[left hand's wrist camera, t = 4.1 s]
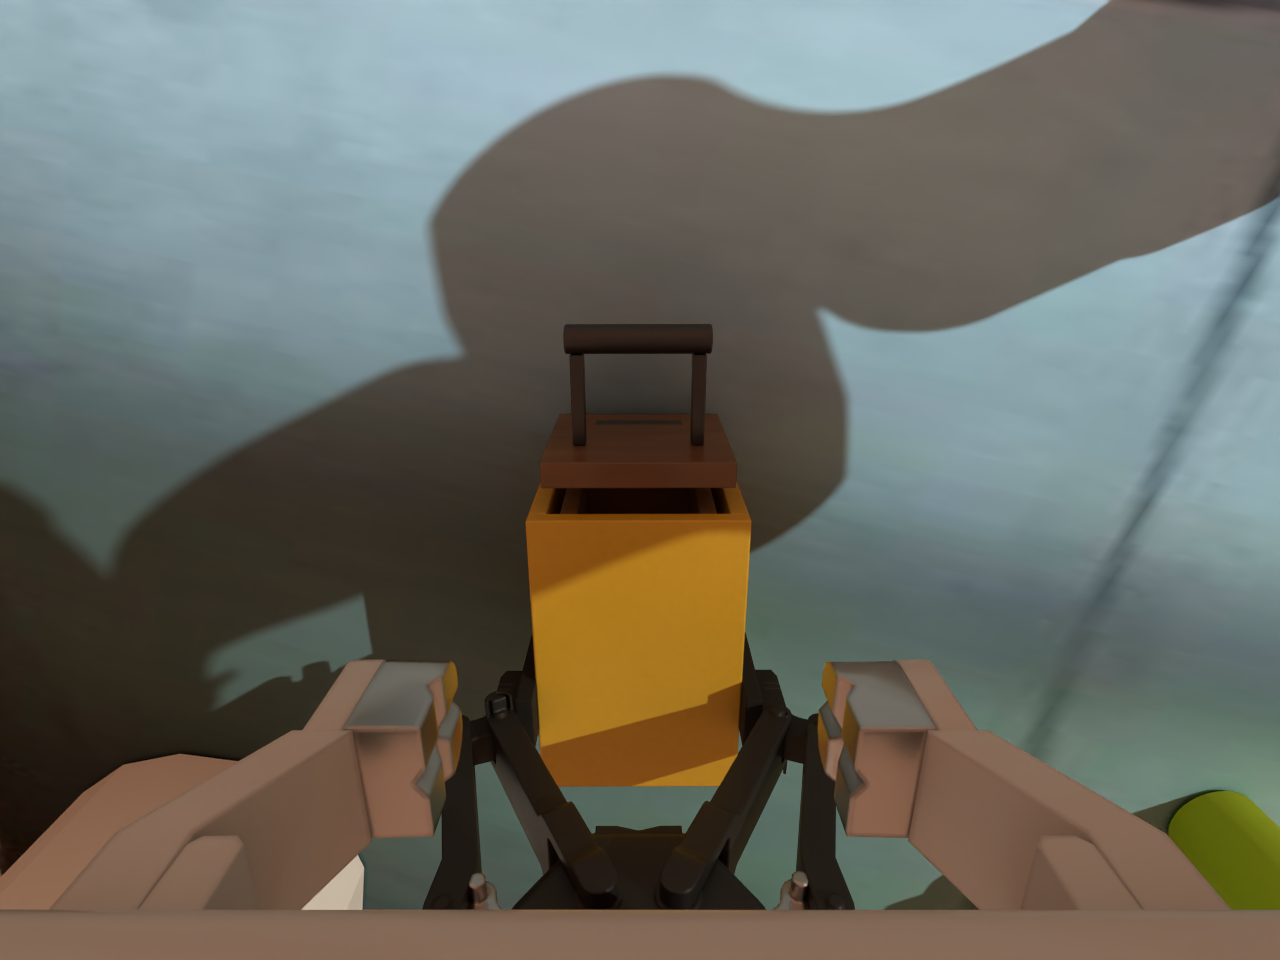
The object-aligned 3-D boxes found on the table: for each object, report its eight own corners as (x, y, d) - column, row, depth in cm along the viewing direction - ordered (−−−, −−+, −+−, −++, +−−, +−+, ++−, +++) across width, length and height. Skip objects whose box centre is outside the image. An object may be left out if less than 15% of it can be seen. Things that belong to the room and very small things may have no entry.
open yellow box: (551, 449, 39) (524, 520, 30) (725, 449, 39) (752, 520, 30) (562, 668, 44) (541, 787, 35) (715, 668, 44) (736, 787, 35)
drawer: (554, 309, 35) (532, 333, 28) (721, 309, 35) (743, 333, 28) (568, 629, 42) (553, 718, 34) (709, 629, 42) (724, 718, 34)
